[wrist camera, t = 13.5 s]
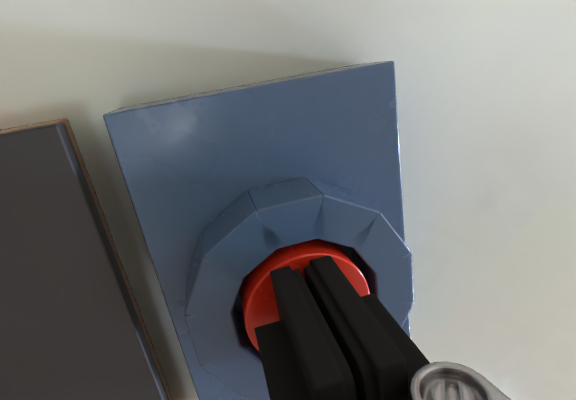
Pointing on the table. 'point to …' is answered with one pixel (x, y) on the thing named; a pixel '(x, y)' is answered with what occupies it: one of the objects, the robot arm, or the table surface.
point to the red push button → (258, 282)
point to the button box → (263, 200)
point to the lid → (62, 283)
